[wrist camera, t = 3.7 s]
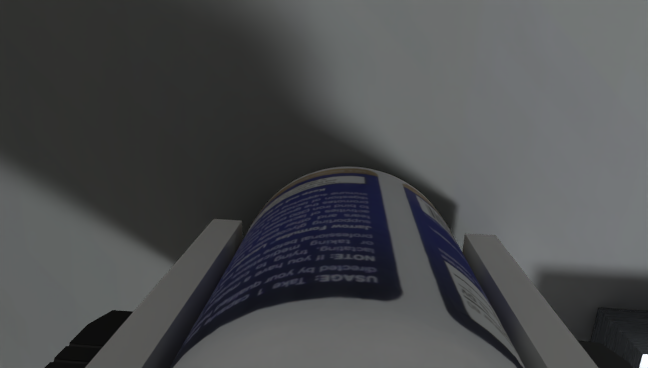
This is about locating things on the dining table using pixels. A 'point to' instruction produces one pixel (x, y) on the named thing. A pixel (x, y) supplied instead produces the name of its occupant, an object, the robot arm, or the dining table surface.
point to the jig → (624, 334)
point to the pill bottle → (348, 285)
